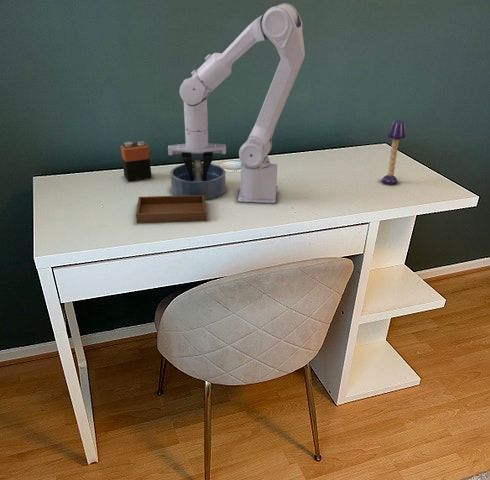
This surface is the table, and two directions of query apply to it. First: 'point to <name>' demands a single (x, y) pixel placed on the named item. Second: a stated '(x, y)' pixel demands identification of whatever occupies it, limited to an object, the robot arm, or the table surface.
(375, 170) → the table surface
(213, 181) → the bowl
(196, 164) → the chess piece
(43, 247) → the table surface
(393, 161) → the toy lamp
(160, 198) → the tray
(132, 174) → the battery
